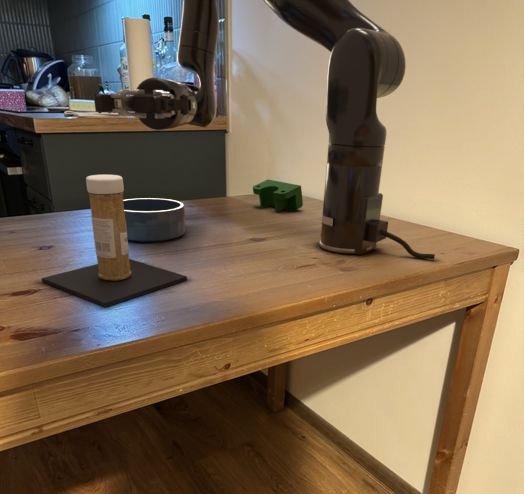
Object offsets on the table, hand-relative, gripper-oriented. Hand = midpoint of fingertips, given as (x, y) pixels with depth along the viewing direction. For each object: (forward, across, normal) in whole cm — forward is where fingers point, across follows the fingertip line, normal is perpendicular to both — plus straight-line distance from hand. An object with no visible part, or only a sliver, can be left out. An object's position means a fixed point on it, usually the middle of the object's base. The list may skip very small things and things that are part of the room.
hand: (128, 103), depth 69 cm
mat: (+10, 0, +22) cm, 24 cm away
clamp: (-49, +16, +22) cm, 56 cm away
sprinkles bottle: (+10, 0, +22) cm, 24 cm away
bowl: (-17, -4, +22) cm, 28 cm away
